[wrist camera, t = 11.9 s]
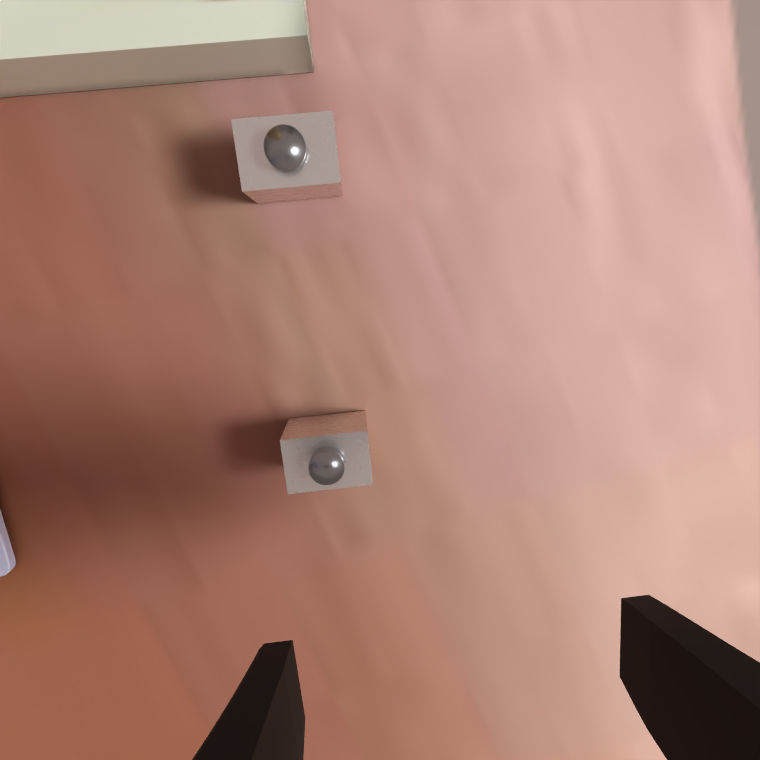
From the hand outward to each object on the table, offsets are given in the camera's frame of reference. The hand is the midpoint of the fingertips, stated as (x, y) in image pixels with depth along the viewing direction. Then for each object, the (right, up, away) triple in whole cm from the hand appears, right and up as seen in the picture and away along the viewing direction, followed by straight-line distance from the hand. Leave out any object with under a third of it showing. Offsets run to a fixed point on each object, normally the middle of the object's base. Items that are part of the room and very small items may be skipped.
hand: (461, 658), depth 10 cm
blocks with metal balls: (-4, +9, +8) cm, 12 cm away
